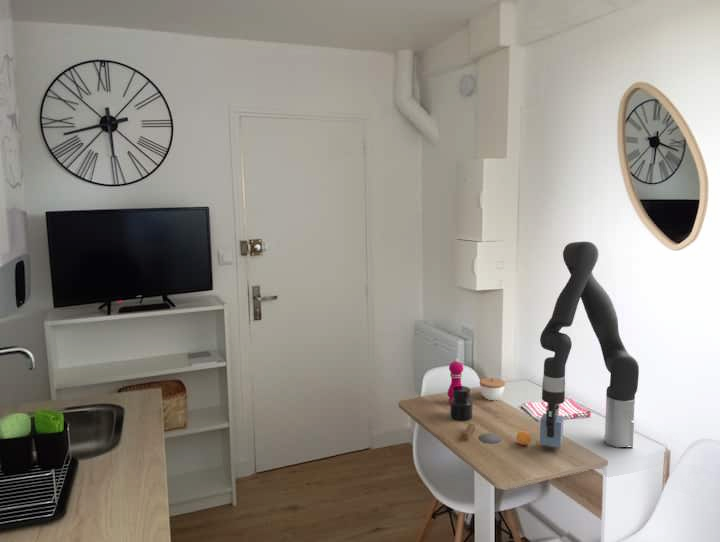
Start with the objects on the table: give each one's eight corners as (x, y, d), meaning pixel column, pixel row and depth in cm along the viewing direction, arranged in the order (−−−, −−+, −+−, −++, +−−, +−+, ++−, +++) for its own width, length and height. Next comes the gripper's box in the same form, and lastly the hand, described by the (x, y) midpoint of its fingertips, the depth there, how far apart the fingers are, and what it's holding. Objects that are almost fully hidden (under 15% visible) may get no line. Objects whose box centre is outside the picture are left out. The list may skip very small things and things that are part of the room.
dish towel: (592, 418, 225) (593, 410, 225) (538, 423, 221) (538, 415, 221) (570, 403, 242) (570, 396, 241) (519, 408, 238) (519, 400, 237)
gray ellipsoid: (503, 436, 209) (503, 435, 209) (499, 444, 202) (499, 444, 202) (481, 432, 212) (481, 432, 212) (476, 441, 205) (476, 440, 205)
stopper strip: (474, 430, 214) (474, 424, 214) (468, 441, 205) (468, 434, 205) (469, 429, 215) (469, 423, 215) (462, 440, 206) (462, 433, 206)
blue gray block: (562, 439, 200) (563, 416, 198) (560, 447, 193) (561, 423, 192) (542, 436, 202) (543, 413, 201) (539, 443, 196) (540, 419, 195)
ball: (531, 442, 203) (532, 429, 203) (529, 448, 199) (530, 434, 198) (517, 440, 205) (517, 427, 205) (515, 445, 201) (515, 432, 200)
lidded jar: (488, 392, 256) (489, 372, 254) (509, 398, 248) (509, 377, 247) (474, 398, 248) (474, 378, 247) (495, 404, 241) (495, 383, 239)
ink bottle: (474, 414, 231) (474, 386, 229) (473, 422, 222) (473, 393, 221) (450, 412, 233) (450, 384, 232) (448, 420, 225) (448, 391, 223)
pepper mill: (446, 400, 246) (446, 356, 244) (463, 400, 246) (463, 356, 244) (448, 406, 239) (448, 361, 237) (465, 406, 239) (466, 361, 236)
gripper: (562, 395, 187) (560, 443, 190) (567, 383, 200) (565, 427, 202) (539, 392, 191) (537, 439, 193) (545, 380, 203) (543, 423, 206)
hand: (551, 432), depth 198 cm, fingers closed on blue gray block, 7 cm apart
